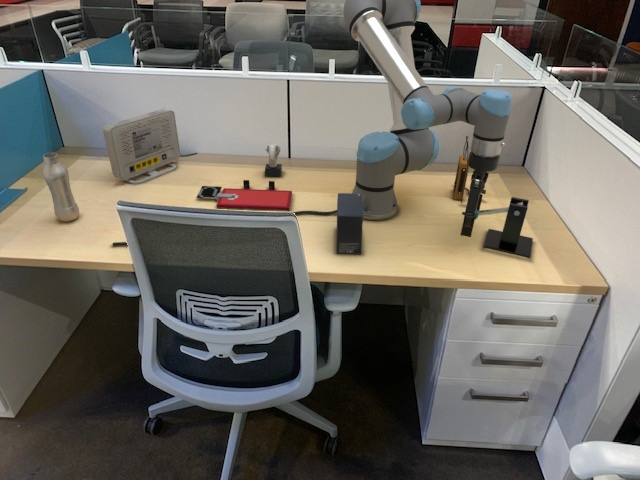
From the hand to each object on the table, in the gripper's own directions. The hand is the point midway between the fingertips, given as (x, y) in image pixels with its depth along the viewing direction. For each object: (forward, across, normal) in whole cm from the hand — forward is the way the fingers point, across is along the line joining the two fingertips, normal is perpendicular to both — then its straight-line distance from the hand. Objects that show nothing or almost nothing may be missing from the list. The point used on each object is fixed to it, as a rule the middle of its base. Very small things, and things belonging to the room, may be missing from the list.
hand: (469, 224), depth 134 cm
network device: (+4, -5, +110) cm, 110 cm away
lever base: (+4, 0, -11) cm, 12 cm away
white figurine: (+4, +14, +70) cm, 72 cm away
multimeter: (+4, +26, +4) cm, 27 cm away
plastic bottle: (+4, -41, +109) cm, 117 cm away
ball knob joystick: (-4, 0, -6) cm, 7 cm away
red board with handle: (+4, -7, +70) cm, 70 cm away
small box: (+4, -17, +30) cm, 35 cm away
